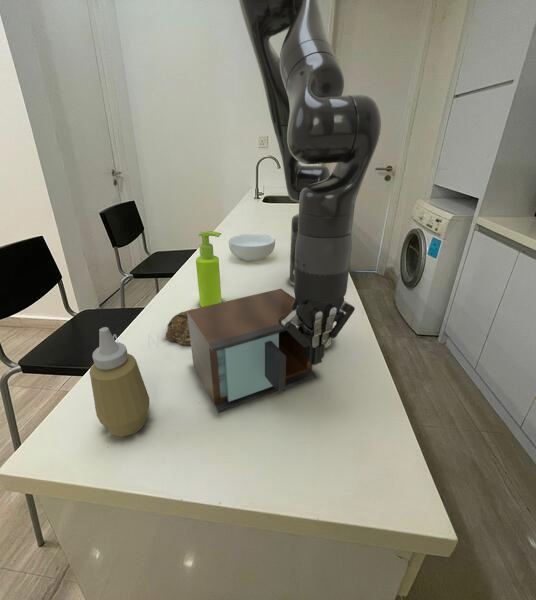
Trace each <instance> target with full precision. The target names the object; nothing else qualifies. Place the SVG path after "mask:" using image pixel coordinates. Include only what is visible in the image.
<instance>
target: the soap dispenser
mask: <svg viewBox="0 0 536 600" xmlns="http://www.w3.org/2000/svg"><path fill="white" fill-rule="evenodd" d="M221 235H222V233H221V232H219V231H212V230H211V231H210V230H208V231H200V232H199V233H198V237H201V242H202V243H201V244H199V256H198V257H196V258H195V266H196V275H197V287H198V297H199V305H200V307H205V306H209V305H213V304H217V303H222V302H223V301H222V289H221V287H222V285H221V273H220V272H221V271H220V258H219V257H218V256H217V255H214V245H213V244H212V243H210V237H215V238H219V237H221Z"/></svg>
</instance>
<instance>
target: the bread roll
mask: <svg viewBox="0 0 536 600" xmlns="http://www.w3.org/2000/svg"><path fill="white" fill-rule="evenodd" d="M192 309H193V308H191V309H190V310H192ZM187 311H188V310H185V311H181V312H179V313H177V314H175V315H173V316H172V318H171V319H170V320H169V322H168V324H167V330H166V333H165V338H166V339H167V341H170V342H172V343H178V344H180V345H183V346H185V345H189V346H191V341H190V333H189V325H188V316H187Z"/></svg>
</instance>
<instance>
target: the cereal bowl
mask: <svg viewBox="0 0 536 600" xmlns="http://www.w3.org/2000/svg"><path fill="white" fill-rule="evenodd" d="M275 247H276V238H275V237H274V236H272V235H269V234H265V233H244V234H237V235H235V236H233V237H230V238H229V239H228V248H229V251H230V252H231V254H232V255H234V256H235V257H237V258H240V259H242V260H243V261H246V262H257V261H261V260H262V259H264V258H266V257H268V256H270V255H271V254H272V253H273V252H274V250H275Z"/></svg>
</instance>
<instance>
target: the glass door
mask: <svg viewBox="0 0 536 600" xmlns="http://www.w3.org/2000/svg"><path fill="white" fill-rule="evenodd" d="M224 354H225V369H226V384H227V398H228V401H229V402H230V401H233V400H235V399H238V398H241V397H244V396H247V395H250V394H252V393H255V392H258V391H261V390H264V389H267V388H269V387H272V386H273V387H274V388H275V389H276V390H277V391H276V393H278V394H281V393H284V392H286V388H285V379H286V355H285V354H284V353H283V352H282V351H281V350H280V349H279V333H276V334H273V335H270V336H266V337H263V338H259V339H256V340H252V341H249V342H245V343H242V344H239V345H235V346H232V347H228V348H225V349H224Z"/></svg>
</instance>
